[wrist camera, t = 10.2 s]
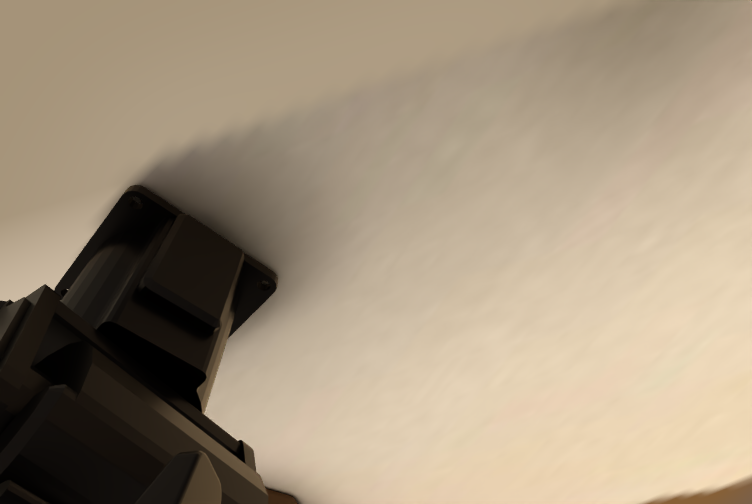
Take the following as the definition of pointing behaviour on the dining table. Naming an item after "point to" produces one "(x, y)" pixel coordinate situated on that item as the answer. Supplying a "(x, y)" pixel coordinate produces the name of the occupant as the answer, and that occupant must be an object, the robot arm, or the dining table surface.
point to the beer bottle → (279, 498)
